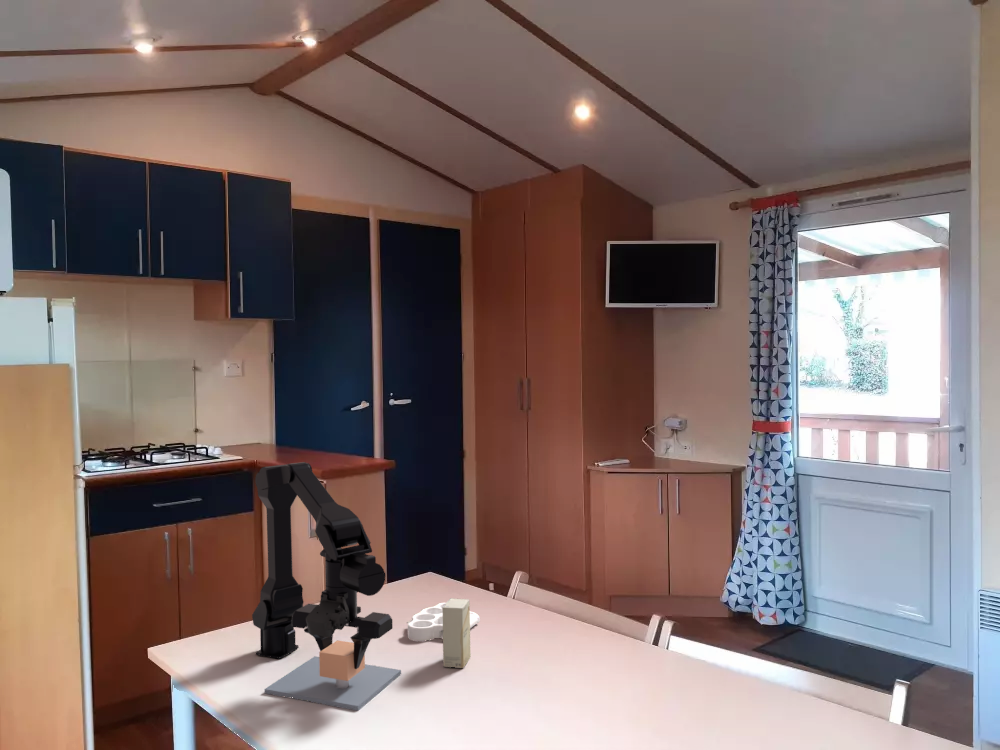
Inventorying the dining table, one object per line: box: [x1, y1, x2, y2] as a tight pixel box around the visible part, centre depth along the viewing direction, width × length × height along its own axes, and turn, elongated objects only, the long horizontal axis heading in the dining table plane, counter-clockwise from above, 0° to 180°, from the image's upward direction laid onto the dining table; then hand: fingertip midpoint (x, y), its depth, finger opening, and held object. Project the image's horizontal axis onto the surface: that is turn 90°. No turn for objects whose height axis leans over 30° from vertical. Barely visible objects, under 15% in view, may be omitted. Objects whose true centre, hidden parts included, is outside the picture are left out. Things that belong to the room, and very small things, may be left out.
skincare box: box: [442, 598, 472, 669], centre depth 152 cm, size 6×4×12 cm
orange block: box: [318, 639, 366, 681], centre depth 139 cm, size 6×6×4 cm
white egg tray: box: [406, 602, 481, 642], centre depth 171 cm, size 3×18×15 cm
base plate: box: [264, 655, 402, 711], centre depth 142 cm, size 20×16×4 cm
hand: (342, 665), depth 139 cm, fingers closed on orange block, 6 cm apart
